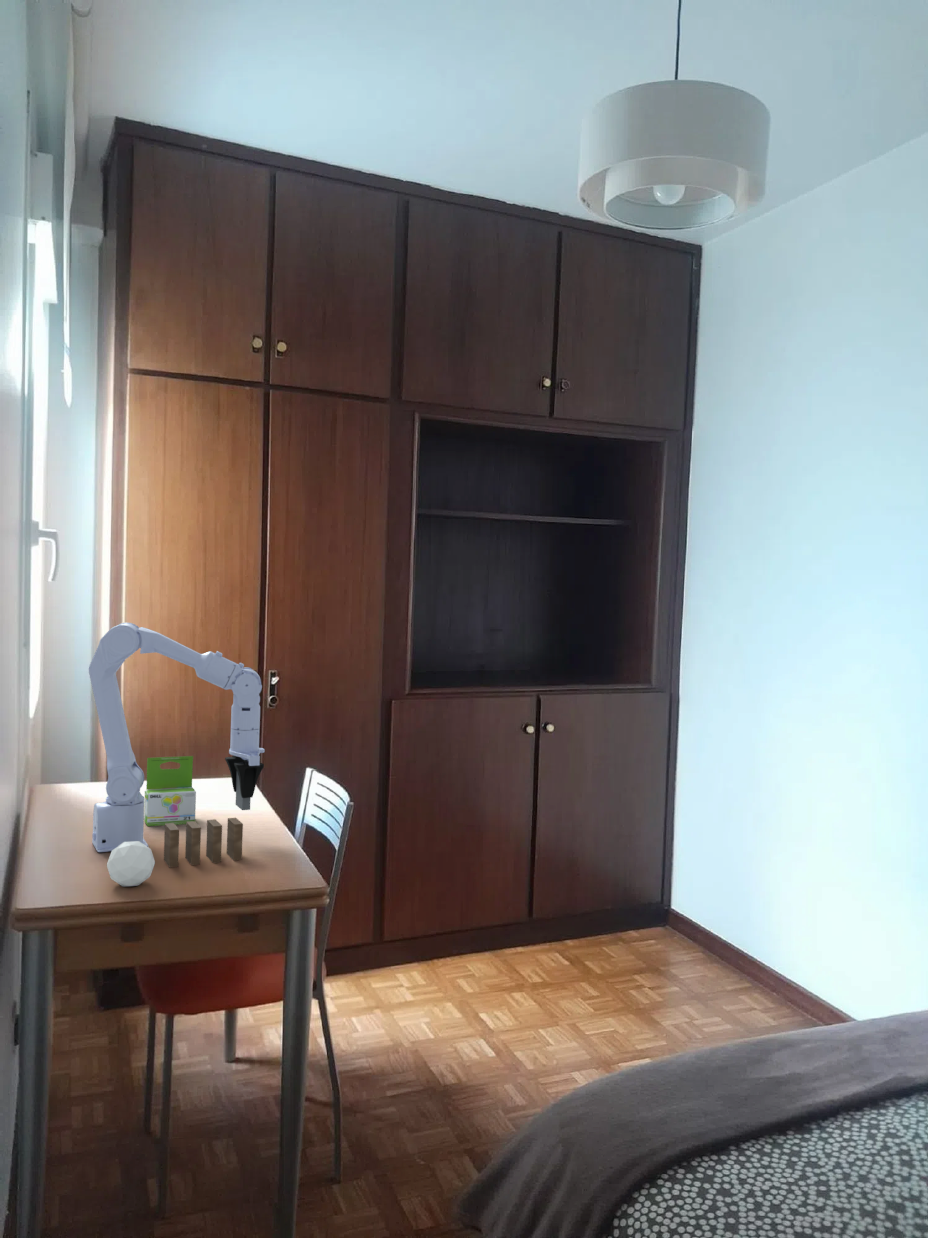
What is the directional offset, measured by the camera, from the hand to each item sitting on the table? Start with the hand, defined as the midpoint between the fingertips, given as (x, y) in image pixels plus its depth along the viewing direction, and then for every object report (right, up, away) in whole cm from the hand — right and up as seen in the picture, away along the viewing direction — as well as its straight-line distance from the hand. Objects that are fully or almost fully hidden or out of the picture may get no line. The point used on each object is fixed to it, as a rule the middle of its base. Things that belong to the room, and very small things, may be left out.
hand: (243, 794), depth 196 cm
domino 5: (0, -3, 0) cm, 3 cm away
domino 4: (0, -10, -9) cm, 14 cm away
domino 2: (-7, -10, -13) cm, 18 cm away
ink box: (-19, -9, +14) cm, 25 cm away
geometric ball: (-13, -11, -28) cm, 33 cm away
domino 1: (-10, -10, -15) cm, 21 cm away
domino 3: (-3, -10, -11) cm, 16 cm away
